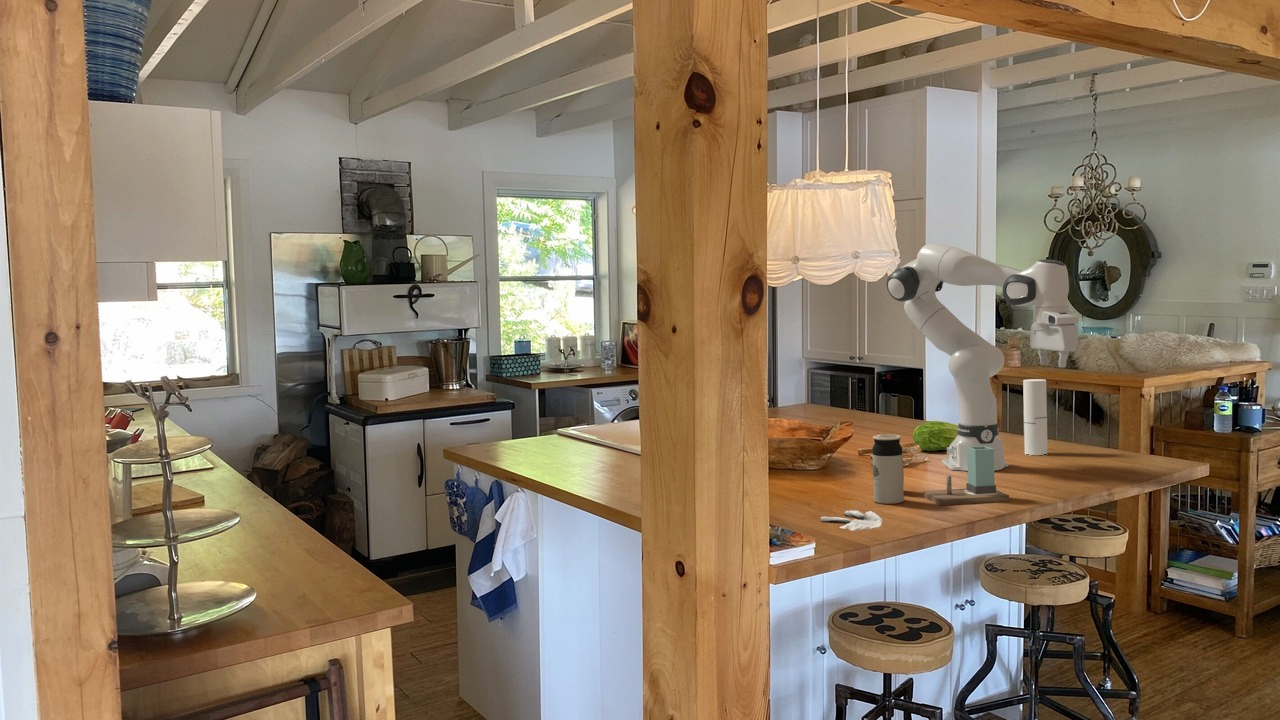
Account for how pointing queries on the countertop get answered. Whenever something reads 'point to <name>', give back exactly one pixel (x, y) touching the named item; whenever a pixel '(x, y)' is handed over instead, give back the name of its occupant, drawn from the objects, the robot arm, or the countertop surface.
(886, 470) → the travel mug
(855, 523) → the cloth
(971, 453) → the teal sleeve
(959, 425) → the robot arm
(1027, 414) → the cylindrical container
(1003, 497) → the pin board
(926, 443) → the lettuce
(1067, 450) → the countertop surface
